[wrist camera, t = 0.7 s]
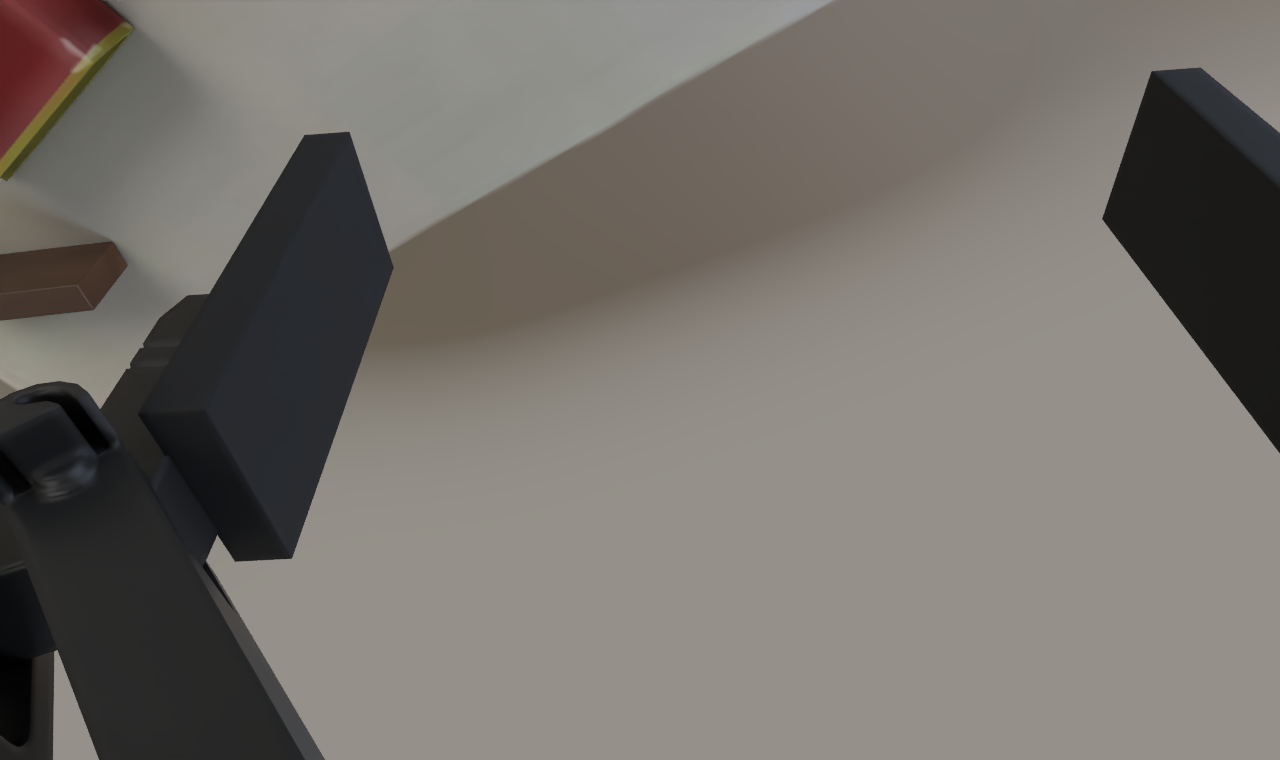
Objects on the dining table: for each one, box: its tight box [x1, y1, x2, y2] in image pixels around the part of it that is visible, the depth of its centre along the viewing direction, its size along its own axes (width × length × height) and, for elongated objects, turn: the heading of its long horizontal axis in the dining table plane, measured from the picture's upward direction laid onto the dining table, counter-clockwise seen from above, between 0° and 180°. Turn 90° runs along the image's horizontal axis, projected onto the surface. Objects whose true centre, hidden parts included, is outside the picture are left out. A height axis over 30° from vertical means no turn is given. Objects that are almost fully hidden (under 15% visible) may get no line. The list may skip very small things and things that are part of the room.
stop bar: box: [0, 242, 127, 320], centre depth 45 cm, size 2×10×4 cm, turn 97°
